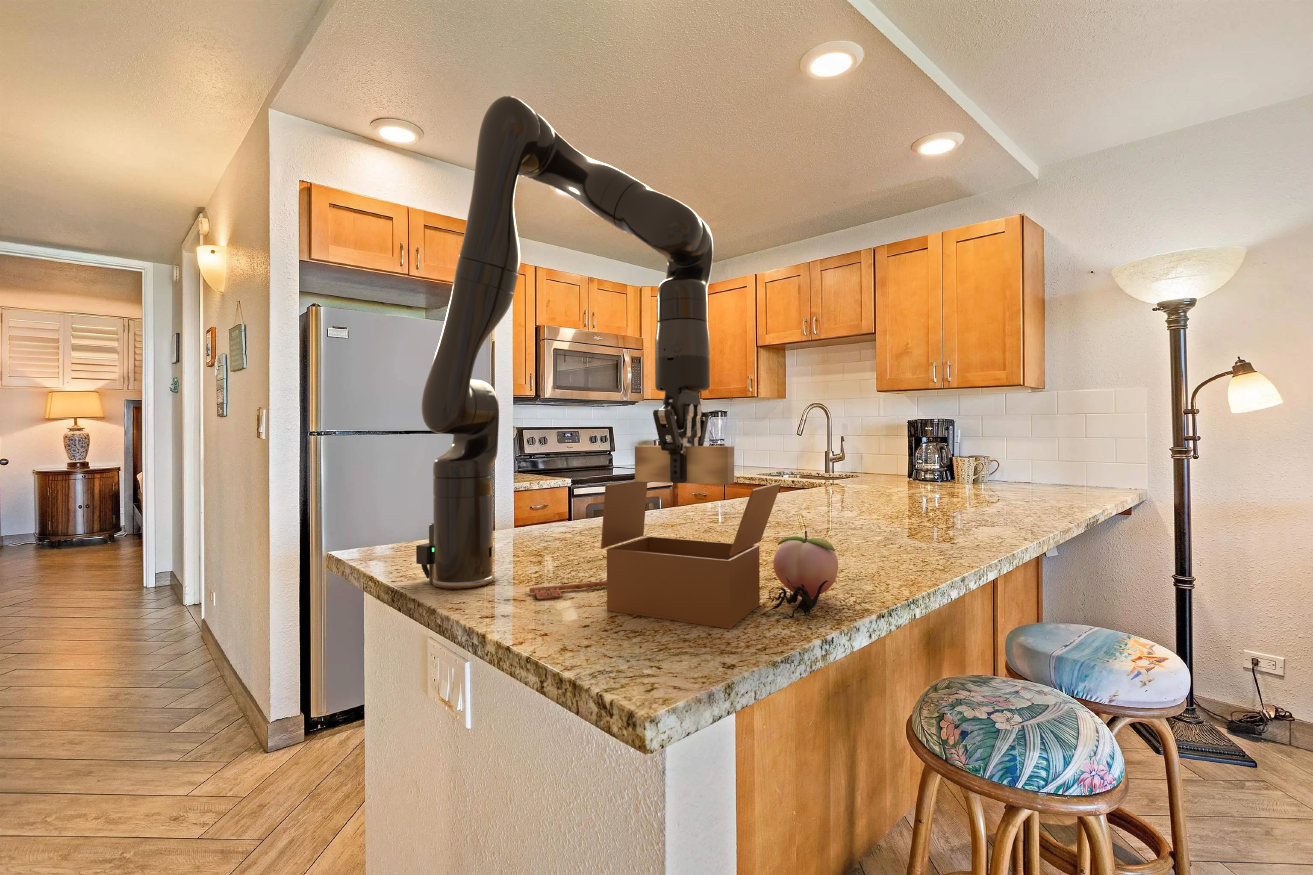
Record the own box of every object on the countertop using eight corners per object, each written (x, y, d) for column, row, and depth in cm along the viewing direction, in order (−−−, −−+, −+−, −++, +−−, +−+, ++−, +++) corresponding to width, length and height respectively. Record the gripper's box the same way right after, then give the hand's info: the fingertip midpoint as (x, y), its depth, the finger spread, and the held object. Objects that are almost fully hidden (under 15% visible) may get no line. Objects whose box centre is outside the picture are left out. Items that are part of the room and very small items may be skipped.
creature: (753, 620, 83) (794, 621, 77) (747, 579, 84) (787, 577, 78) (795, 611, 87) (838, 611, 81) (789, 572, 88) (831, 570, 82)
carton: (759, 605, 86) (759, 483, 86) (729, 628, 76) (729, 489, 76) (642, 590, 95) (641, 479, 95) (600, 609, 85) (600, 484, 84)
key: (533, 602, 89) (632, 592, 94) (533, 596, 89) (632, 586, 94) (527, 589, 95) (621, 580, 100) (527, 583, 95) (621, 574, 100)
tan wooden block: (634, 481, 87) (634, 446, 87) (642, 480, 89) (642, 445, 89) (727, 484, 81) (727, 446, 81) (734, 483, 83) (734, 446, 83)
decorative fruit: (848, 598, 90) (848, 529, 90) (828, 611, 83) (828, 537, 83) (788, 588, 96) (787, 524, 96) (764, 600, 89) (764, 531, 89)
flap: (758, 540, 86) (760, 541, 86) (728, 555, 76) (731, 556, 76) (779, 482, 85) (781, 483, 85) (751, 489, 75) (754, 490, 74)
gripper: (679, 363, 93) (680, 478, 93) (633, 352, 81) (634, 485, 81) (726, 359, 89) (727, 479, 89) (685, 348, 77) (686, 486, 77)
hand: (683, 481), depth 85 cm, fingers closed on tan wooden block, 2 cm apart
